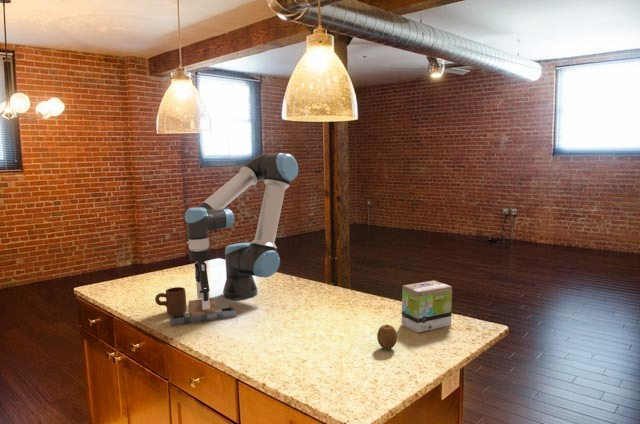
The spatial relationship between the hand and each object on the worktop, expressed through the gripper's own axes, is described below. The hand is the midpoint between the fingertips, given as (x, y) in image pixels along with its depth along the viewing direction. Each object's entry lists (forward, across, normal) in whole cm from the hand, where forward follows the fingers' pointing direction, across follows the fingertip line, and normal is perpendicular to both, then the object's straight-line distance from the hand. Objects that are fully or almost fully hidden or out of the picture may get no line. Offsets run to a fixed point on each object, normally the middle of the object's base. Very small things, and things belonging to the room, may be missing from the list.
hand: (203, 303), depth 180 cm
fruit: (+7, +53, +49) cm, 73 cm away
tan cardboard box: (+6, 0, -1) cm, 6 cm away
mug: (+6, -12, -11) cm, 18 cm away
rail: (+6, 0, -1) cm, 6 cm away
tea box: (+8, +41, +72) cm, 84 cm away
